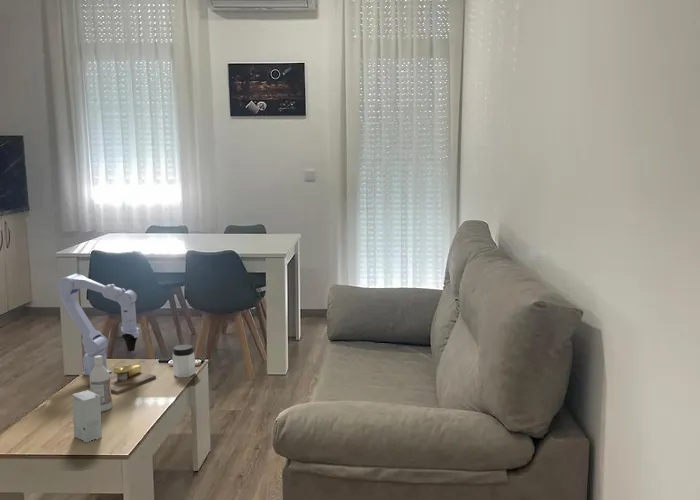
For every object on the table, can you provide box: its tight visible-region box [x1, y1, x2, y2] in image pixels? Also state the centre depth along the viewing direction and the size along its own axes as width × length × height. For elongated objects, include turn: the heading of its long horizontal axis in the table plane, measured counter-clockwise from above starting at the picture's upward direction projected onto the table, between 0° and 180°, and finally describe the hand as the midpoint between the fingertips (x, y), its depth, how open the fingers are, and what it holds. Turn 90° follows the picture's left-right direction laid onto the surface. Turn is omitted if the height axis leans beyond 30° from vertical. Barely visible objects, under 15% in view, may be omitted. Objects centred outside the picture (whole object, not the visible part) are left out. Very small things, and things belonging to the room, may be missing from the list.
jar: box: [172, 343, 196, 379], centre depth 277 cm, size 9×8×12 cm
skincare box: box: [72, 389, 103, 443], centre depth 217 cm, size 8×6×15 cm
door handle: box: [113, 364, 142, 377], centre depth 272 cm, size 13×6×5 cm, turn 158°
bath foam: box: [89, 355, 113, 413], centre depth 241 cm, size 7×7×20 cm
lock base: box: [87, 371, 157, 395], centre depth 269 cm, size 17×20×4 cm
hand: (131, 350), depth 277 cm, fingers closed
